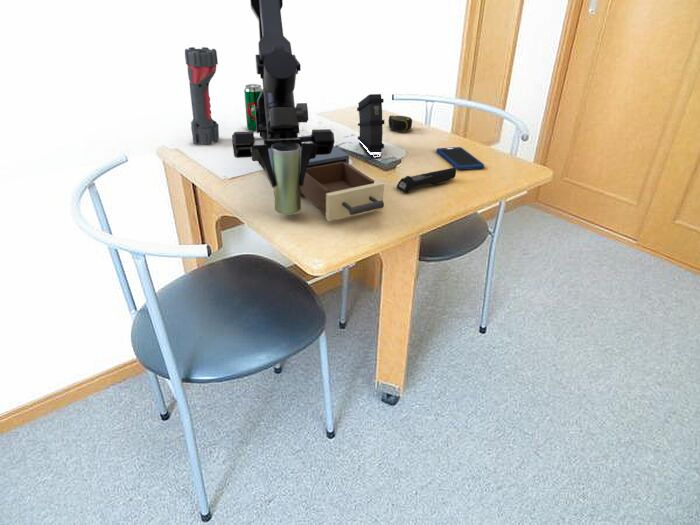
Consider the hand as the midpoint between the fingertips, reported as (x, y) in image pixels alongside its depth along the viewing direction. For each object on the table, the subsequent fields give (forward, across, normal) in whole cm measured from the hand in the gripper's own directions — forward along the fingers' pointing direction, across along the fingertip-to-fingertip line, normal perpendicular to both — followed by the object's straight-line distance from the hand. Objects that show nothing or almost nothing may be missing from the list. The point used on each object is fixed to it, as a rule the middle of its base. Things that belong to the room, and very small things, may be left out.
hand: (287, 185), depth 90 cm
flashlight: (-29, -16, +39) cm, 51 cm away
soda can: (-35, -4, +46) cm, 58 cm away
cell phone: (-14, +46, +24) cm, 54 cm away
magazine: (-21, +25, +31) cm, 45 cm away
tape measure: (-32, +38, +43) cm, 66 cm away
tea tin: (+3, 0, +5) cm, 6 cm away
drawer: (+2, +11, +7) cm, 13 cm away
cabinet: (-9, +6, +19) cm, 22 cm away
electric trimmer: (-4, +32, +14) cm, 36 cm away
